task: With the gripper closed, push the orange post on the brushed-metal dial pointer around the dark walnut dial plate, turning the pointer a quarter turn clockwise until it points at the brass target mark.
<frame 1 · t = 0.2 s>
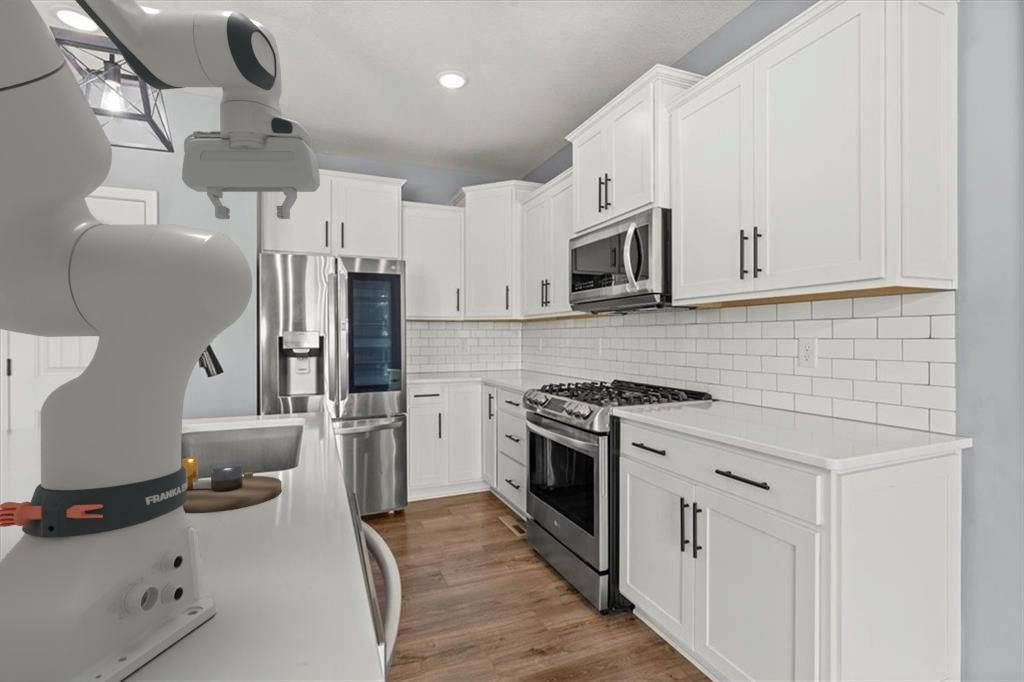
hand: (253, 218, 83), 47 cm above the worktop, fingers open, 8 cm apart
dial plate: (227, 496, 94), on the worktop
dial pointer: (212, 472, 94), point 4 cm above the worktop, hinge at 0.0°
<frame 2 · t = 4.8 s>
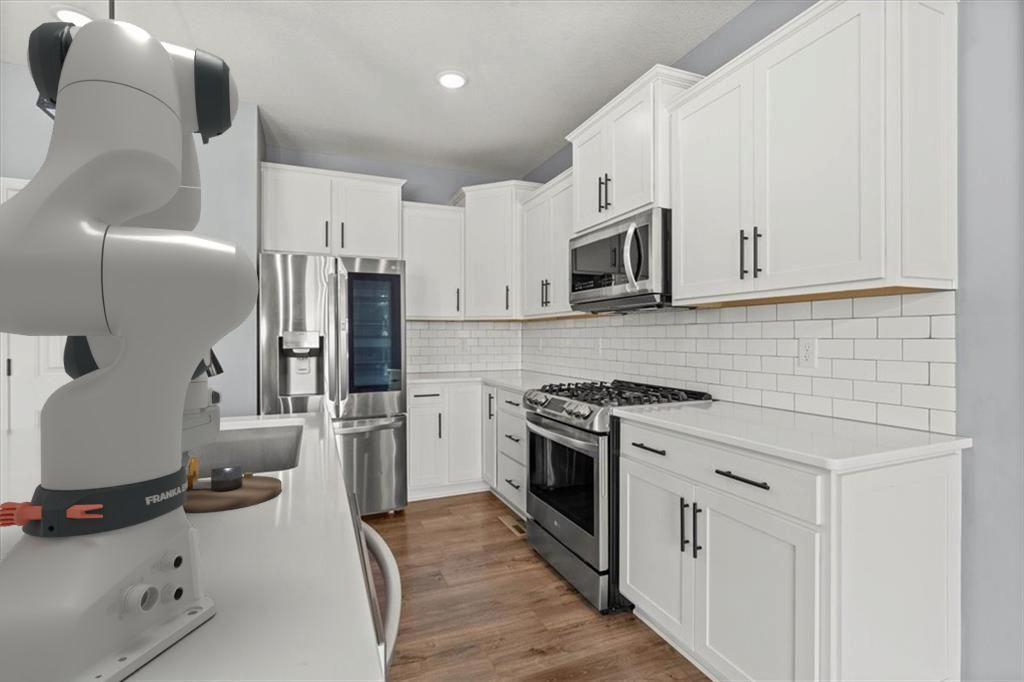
hand: (179, 477, 91), 4 cm above the worktop, fingers closed
dial pointer: (212, 472, 94), point 4 cm above the worktop, hinge at -0.1°, touching gripper
everything else where it was.
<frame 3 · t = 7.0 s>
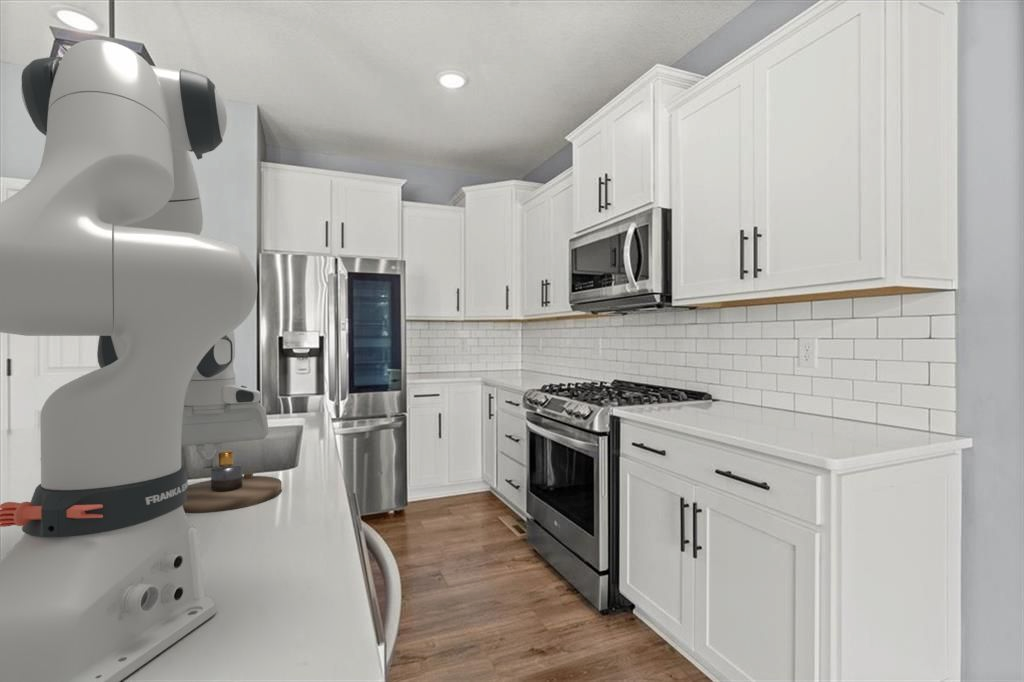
hand: (209, 467, 99), 4 cm above the worktop, fingers closed
dial pointer: (226, 469, 96), point 4 cm above the worktop, hinge at -61.8°, touching gripper
everything else where it was.
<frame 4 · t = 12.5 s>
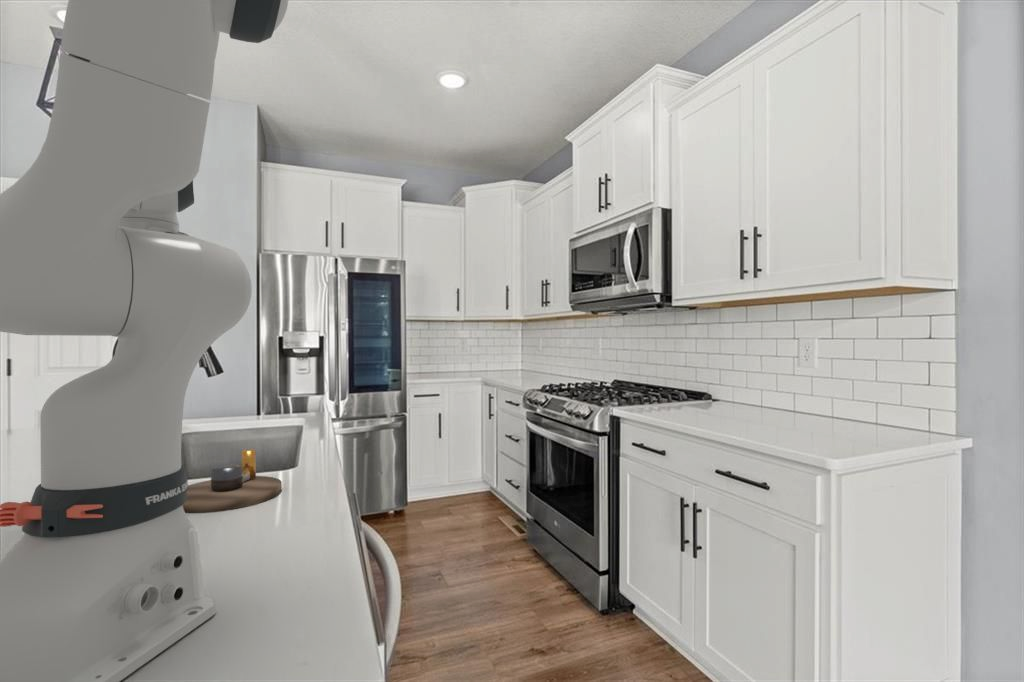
hand: (148, 323, 87), 31 cm above the worktop, fingers closed
dial pointer: (235, 468, 97), point 4 cm above the worktop, hinge at -97.9°
everything else where it was.
at the end: dial pointer at -98° (first picture: +0°) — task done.
